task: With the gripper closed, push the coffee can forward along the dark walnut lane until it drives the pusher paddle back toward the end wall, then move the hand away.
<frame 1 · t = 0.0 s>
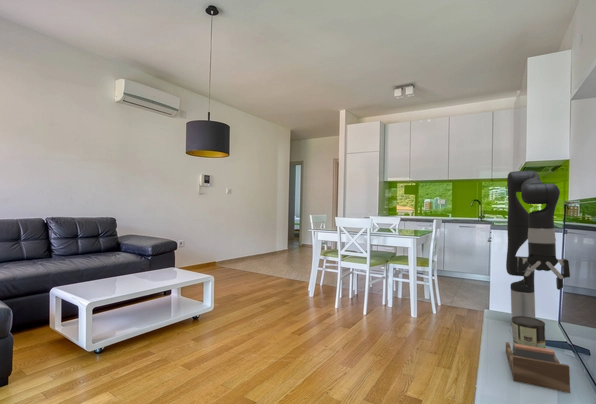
hand: (542, 287, 107), 29 cm above the table, tool pointing down, fingers open, 8 cm apart
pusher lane: (535, 373, 106), on the table
coffee can: (528, 358, 117), on the table
pusher paddle: (534, 359, 108), point 4 cm above the table, slide at 0.0 cm
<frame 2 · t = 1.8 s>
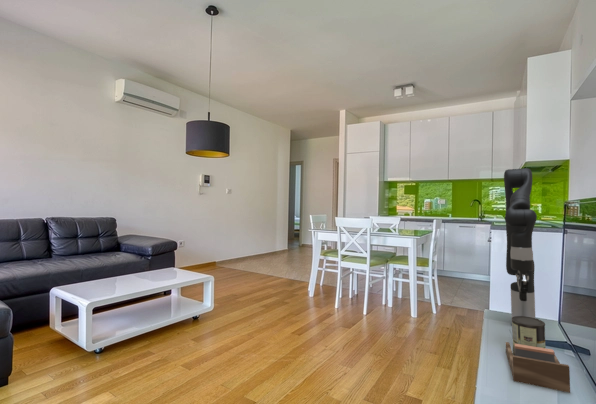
hand: (523, 300, 126), 19 cm above the table, tool pointing down, fingers closed
nothing on the table moved.
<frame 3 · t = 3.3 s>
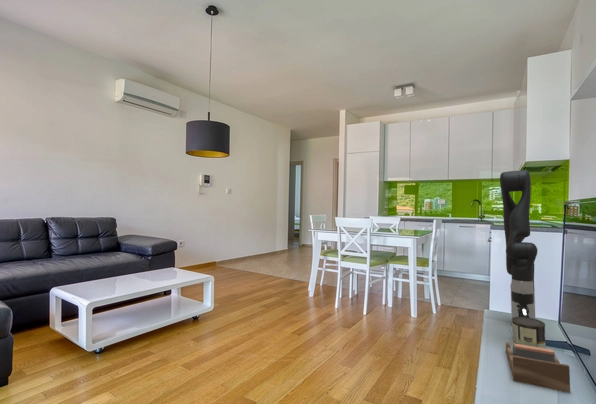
hand: (523, 332, 128), 5 cm above the table, tool pointing down, fingers closed
coffee can: (529, 358, 117), on the table, touching hand
everything else where it was.
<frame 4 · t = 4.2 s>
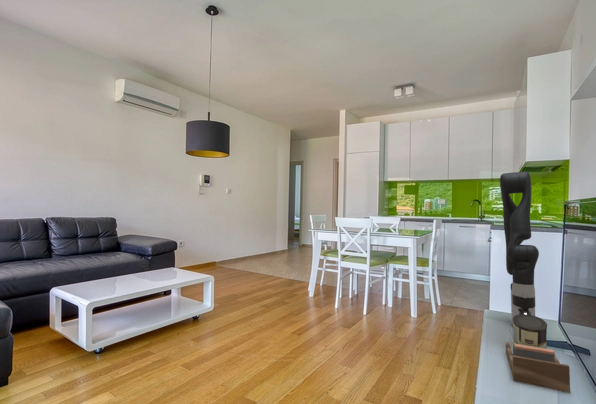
hand: (524, 336, 125), 5 cm above the table, tool pointing down, fingers closed
coffee can: (529, 355, 117), point 1 cm above the table, touching hand
everything else where it was.
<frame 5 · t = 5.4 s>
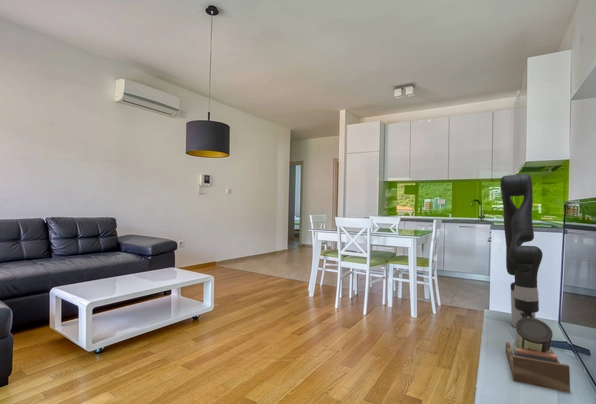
hand: (527, 342, 119), 5 cm above the table, tool pointing down, fingers closed
coffee can: (530, 355, 114), point 2 cm above the table, touching hand, pusher paddle
pusher paddle: (536, 363, 105), point 4 cm above the table, slide at 3.5 cm, touching coffee can
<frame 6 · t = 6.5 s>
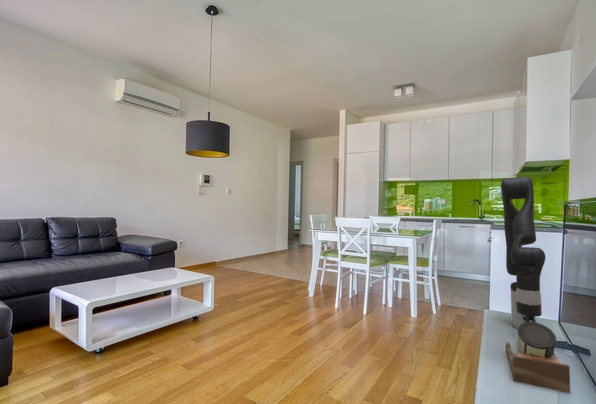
hand: (529, 347, 115), 5 cm above the table, tool pointing down, fingers closed
coffee can: (533, 361, 110), point 2 cm above the table, touching hand, pusher paddle
pusher paddle: (538, 369, 101), point 4 cm above the table, slide at 8.1 cm, touching coffee can
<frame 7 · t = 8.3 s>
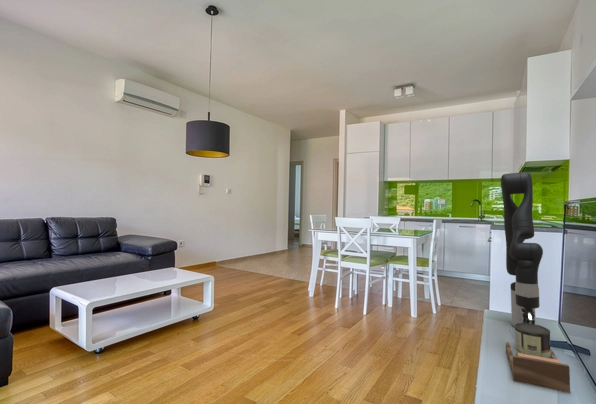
hand: (528, 337, 121), 6 cm above the table, tool pointing down, fingers closed
coffee can: (533, 368, 110), on the table
pusher paddle: (538, 369, 101), point 4 cm above the table, slide at 8.0 cm
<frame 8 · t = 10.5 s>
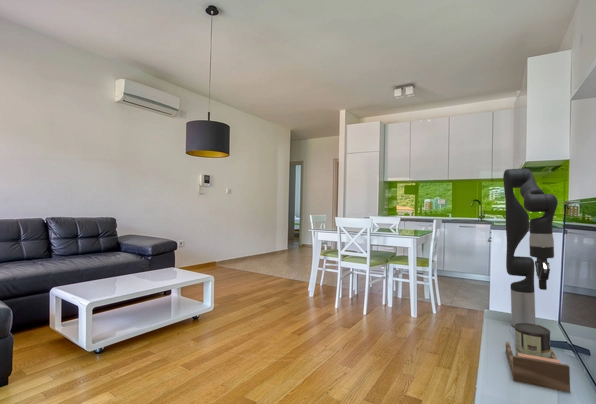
hand: (542, 289, 121), 25 cm above the table, tool pointing down, fingers closed
nothing on the table moved.
at the end: coffee can inside the target area (2.5 cm from its centre), on the table; pusher paddle slide at 8.0 cm; coffee can tilted 0° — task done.
